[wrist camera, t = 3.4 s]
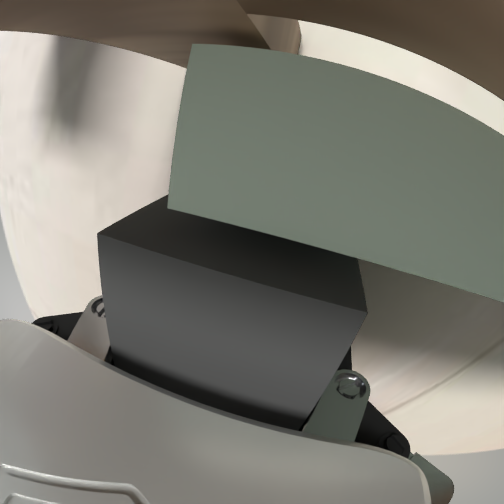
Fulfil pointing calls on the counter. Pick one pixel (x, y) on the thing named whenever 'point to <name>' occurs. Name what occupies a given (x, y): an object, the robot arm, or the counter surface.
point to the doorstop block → (227, 312)
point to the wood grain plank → (277, 27)
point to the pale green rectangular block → (341, 164)
